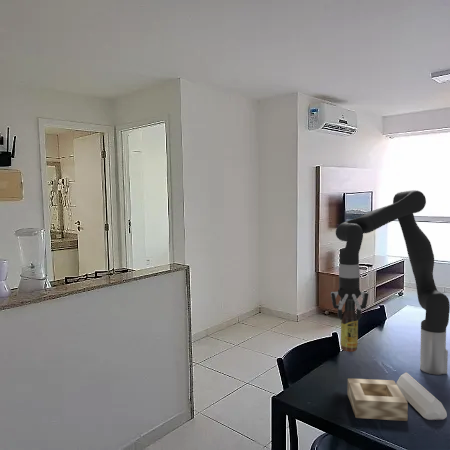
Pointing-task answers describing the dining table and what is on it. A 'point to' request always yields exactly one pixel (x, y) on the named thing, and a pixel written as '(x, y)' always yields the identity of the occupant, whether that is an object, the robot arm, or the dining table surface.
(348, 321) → the sauce bottle
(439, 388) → the dining table surface
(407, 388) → the crystal
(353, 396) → the socket block
